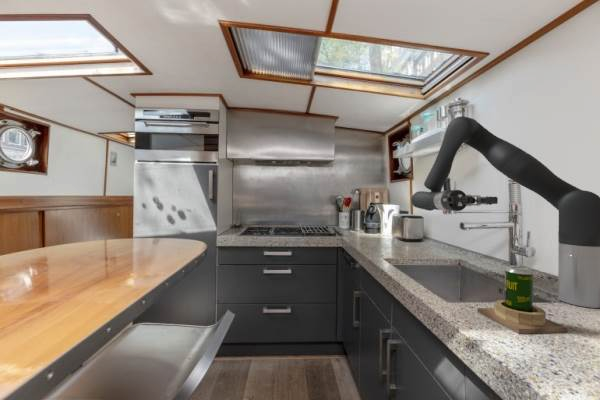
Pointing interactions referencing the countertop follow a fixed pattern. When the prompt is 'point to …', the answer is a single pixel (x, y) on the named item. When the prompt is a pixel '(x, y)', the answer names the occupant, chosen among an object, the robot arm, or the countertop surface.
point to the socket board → (523, 327)
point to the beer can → (519, 288)
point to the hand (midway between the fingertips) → (484, 199)
